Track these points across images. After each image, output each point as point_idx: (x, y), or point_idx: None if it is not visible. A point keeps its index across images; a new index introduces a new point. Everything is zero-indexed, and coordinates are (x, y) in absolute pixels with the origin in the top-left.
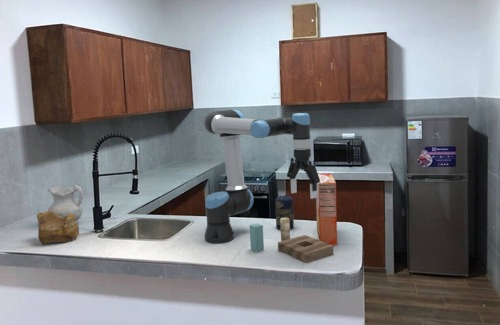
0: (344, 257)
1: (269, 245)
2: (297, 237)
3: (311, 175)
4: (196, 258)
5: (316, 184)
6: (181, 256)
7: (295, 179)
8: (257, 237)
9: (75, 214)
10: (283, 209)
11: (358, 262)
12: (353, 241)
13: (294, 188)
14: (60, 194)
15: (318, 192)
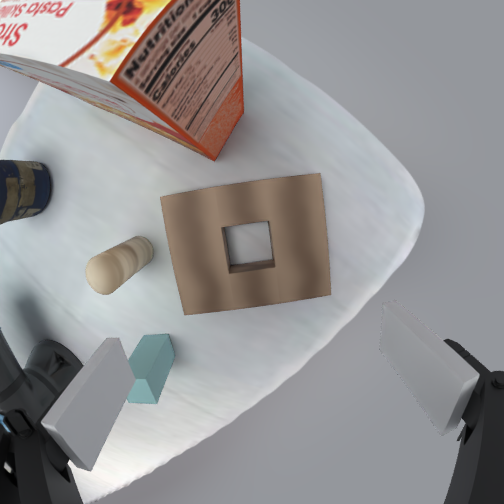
0: (350, 163)
1: (140, 303)
2: (173, 235)
3: (491, 487)
4: (163, 444)
5: (490, 373)
6: (143, 452)
7: (65, 431)
8: (162, 374)
9: None
10: (4, 208)
11: (395, 158)
12: (247, 56)
13: (111, 382)
14: None
15: (129, 103)
